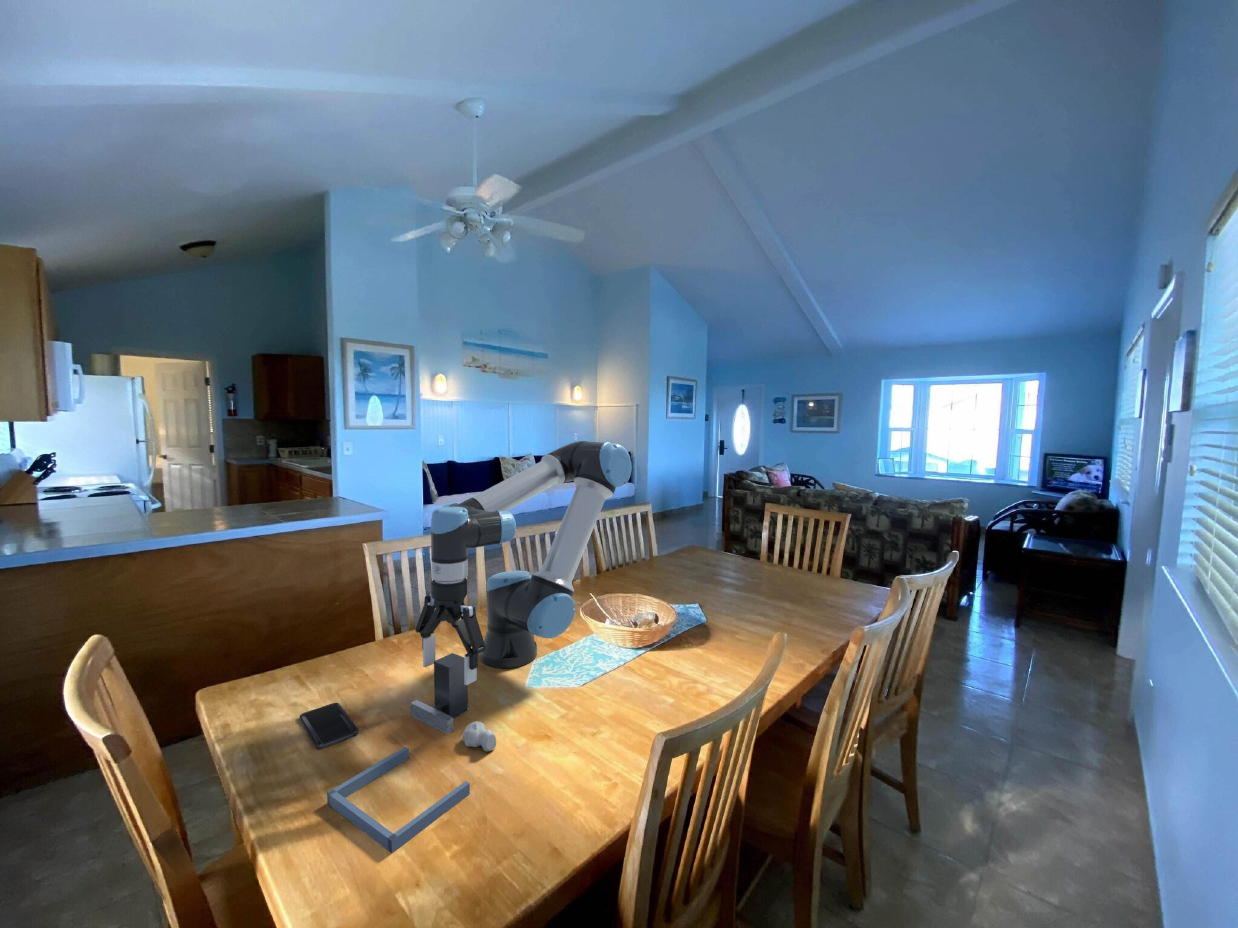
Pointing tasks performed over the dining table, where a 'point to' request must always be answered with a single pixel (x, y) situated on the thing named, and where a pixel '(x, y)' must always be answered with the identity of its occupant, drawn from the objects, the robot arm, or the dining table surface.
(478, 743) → the pale two-lobed sculpture
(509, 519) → the robot arm
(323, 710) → the phone
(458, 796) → the frame
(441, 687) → the grey block with bar
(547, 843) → the dining table surface
